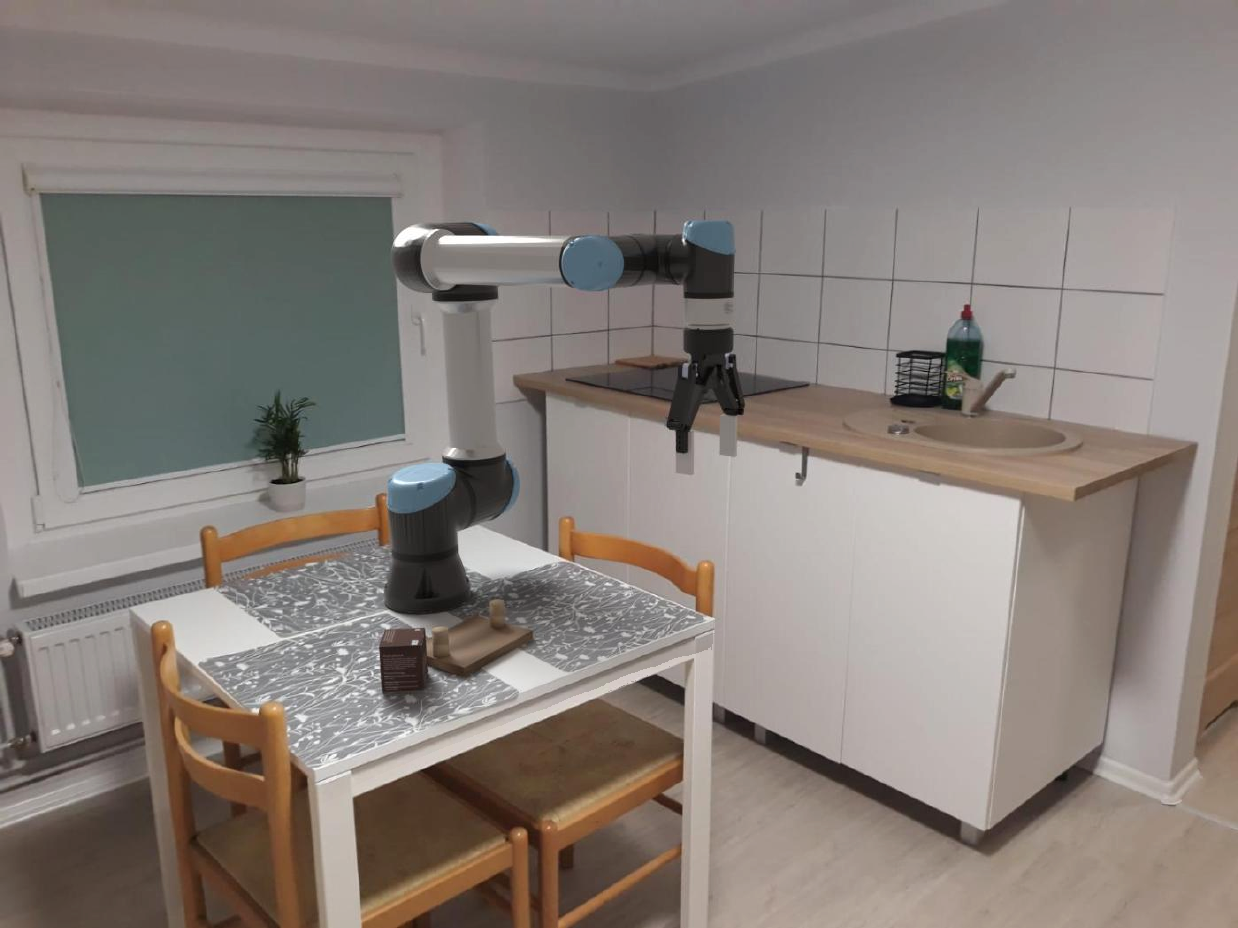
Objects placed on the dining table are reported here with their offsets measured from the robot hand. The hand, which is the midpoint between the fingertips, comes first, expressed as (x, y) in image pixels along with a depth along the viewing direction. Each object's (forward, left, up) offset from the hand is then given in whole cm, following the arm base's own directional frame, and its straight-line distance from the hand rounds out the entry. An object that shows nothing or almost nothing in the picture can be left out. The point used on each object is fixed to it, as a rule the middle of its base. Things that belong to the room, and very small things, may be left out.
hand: (707, 464), depth 152 cm
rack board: (-28, -25, -28) cm, 47 cm away
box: (-28, -39, -28) cm, 56 cm away
